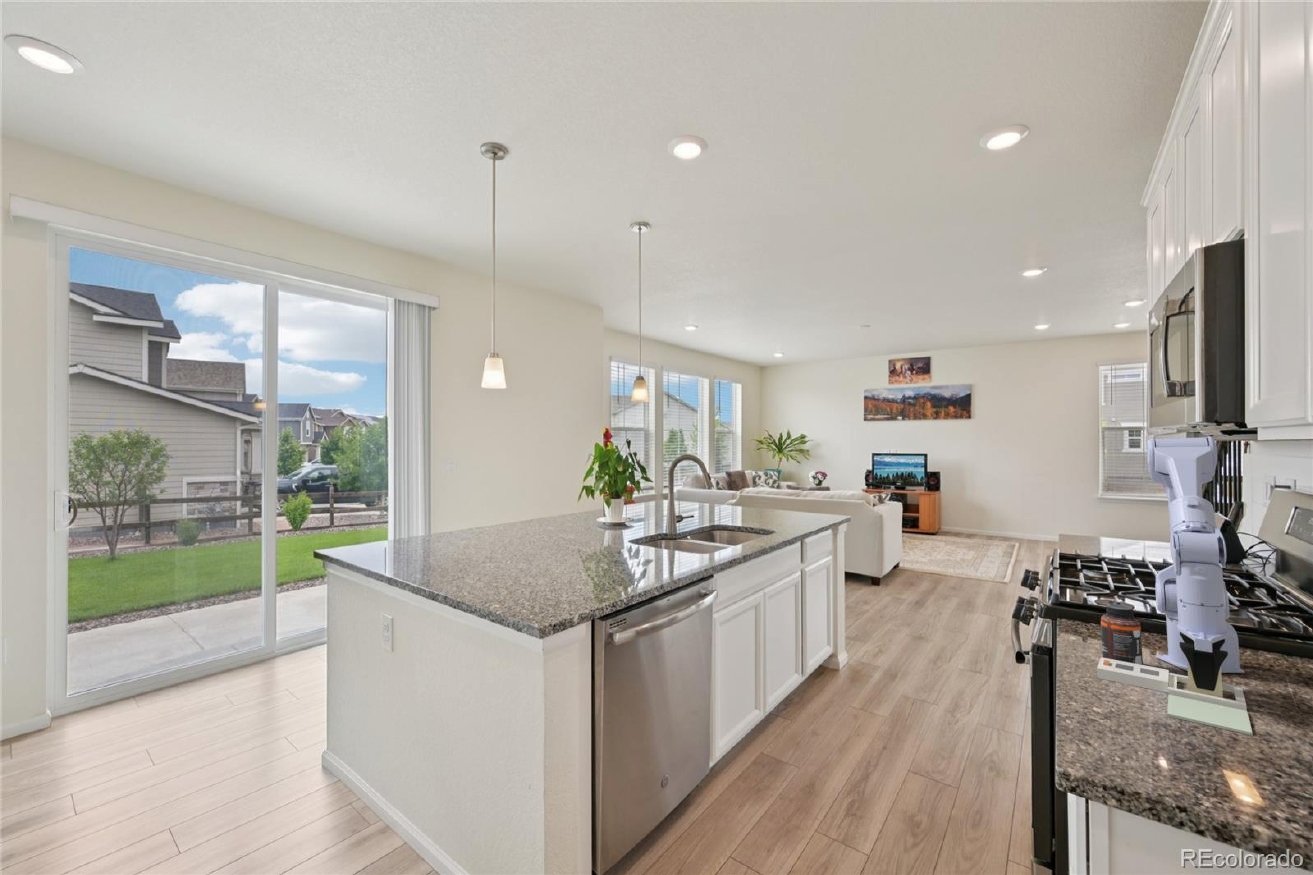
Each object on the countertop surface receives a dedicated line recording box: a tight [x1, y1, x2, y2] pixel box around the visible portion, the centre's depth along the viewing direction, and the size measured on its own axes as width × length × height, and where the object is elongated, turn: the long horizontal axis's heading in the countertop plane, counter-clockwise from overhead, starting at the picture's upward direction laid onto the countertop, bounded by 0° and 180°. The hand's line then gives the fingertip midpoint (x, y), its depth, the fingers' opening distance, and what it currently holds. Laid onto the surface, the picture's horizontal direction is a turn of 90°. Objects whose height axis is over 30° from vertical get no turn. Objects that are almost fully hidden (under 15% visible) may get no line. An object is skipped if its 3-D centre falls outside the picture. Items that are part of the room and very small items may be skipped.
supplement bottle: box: [1100, 603, 1144, 665], centre depth 105 cm, size 6×6×11 cm
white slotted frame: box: [1096, 656, 1248, 712], centre depth 96 cm, size 18×9×2 cm, turn 46°
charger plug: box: [1187, 660, 1224, 698], centre depth 92 cm, size 4×4×6 cm
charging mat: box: [1166, 694, 1253, 737], centre depth 85 cm, size 9×9×1 cm
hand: (1204, 683), depth 92 cm, fingers open, 6 cm apart
